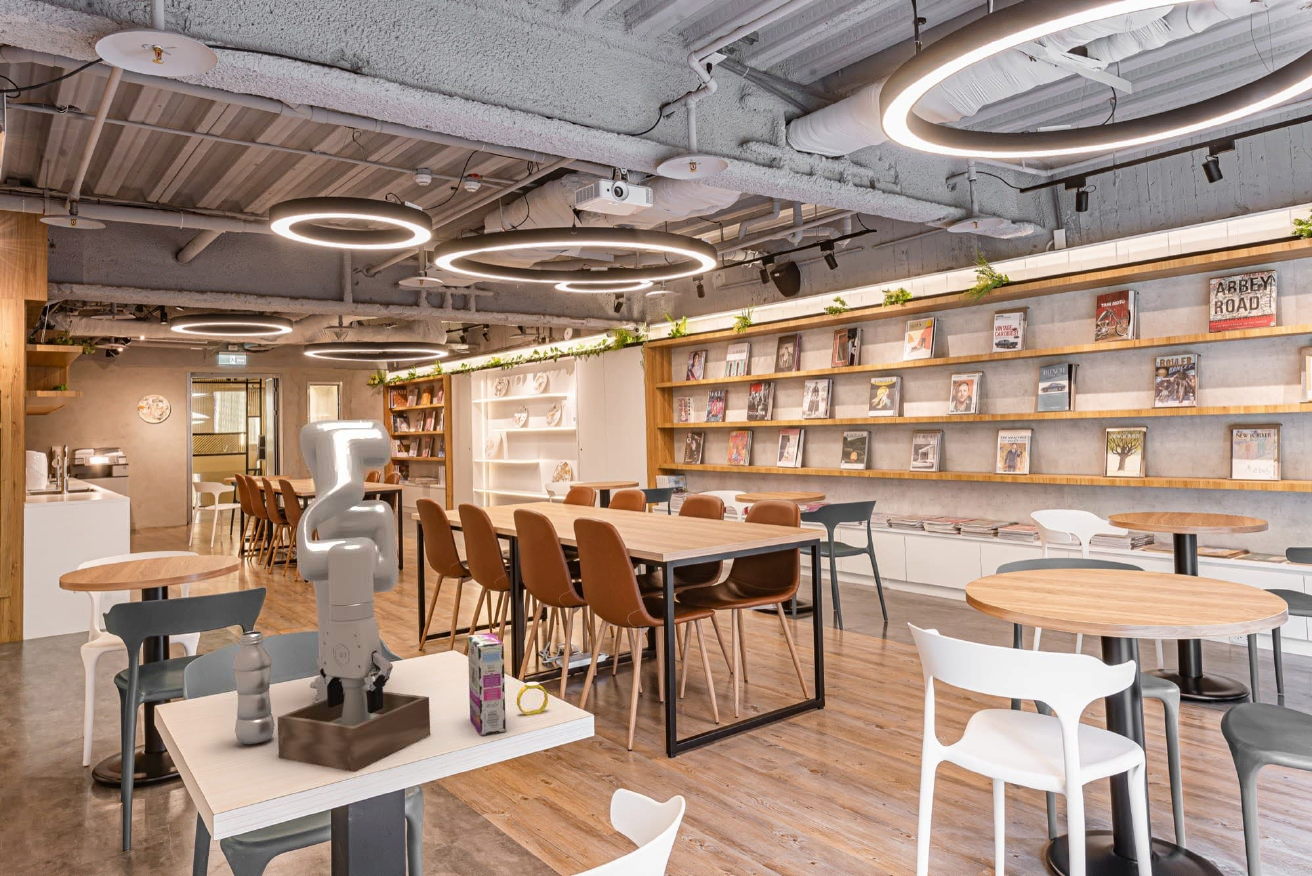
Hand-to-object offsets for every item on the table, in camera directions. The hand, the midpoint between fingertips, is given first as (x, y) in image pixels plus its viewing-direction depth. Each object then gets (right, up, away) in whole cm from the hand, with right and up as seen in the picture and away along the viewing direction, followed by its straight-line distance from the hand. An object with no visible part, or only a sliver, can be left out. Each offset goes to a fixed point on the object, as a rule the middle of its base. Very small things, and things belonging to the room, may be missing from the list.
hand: (355, 708), depth 147 cm
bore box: (0, -7, 0) cm, 7 cm away
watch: (+30, -6, +15) cm, 34 cm away
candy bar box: (+22, -6, +8) cm, 24 cm away
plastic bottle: (-20, -8, +4) cm, 22 cm away
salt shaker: (0, -7, 0) cm, 7 cm away
